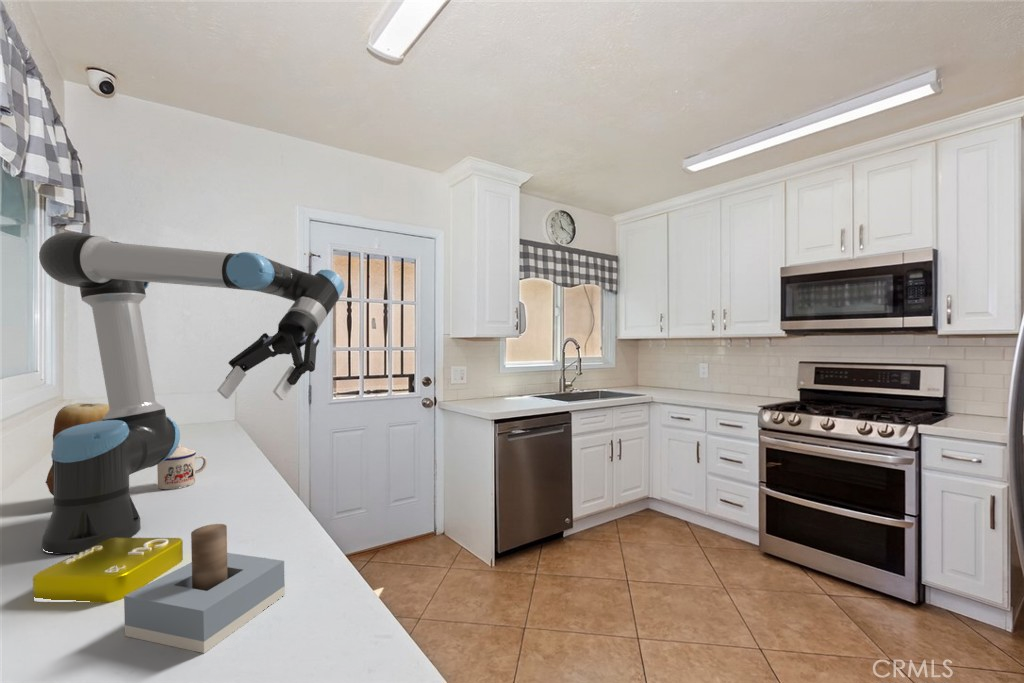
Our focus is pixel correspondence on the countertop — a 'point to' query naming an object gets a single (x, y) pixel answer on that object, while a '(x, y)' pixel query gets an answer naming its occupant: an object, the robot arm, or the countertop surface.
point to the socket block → (203, 604)
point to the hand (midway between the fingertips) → (249, 395)
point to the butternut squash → (75, 423)
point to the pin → (209, 556)
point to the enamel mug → (178, 469)
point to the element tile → (108, 569)
